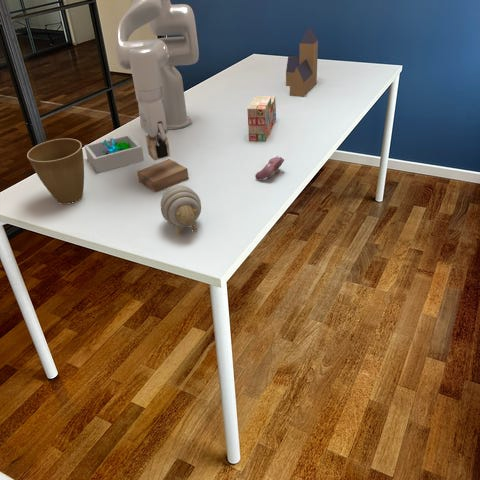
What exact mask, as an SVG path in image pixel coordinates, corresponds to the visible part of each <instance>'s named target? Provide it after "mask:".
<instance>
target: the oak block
mask: <svg viewBox="0 0 480 480" xmlns="http://www.w3.org/2000/svg"><path fill="white" fill-rule="evenodd" d="M158 134H160V133H159V132H158V133H157V135H158ZM160 137H161V136H160ZM160 137H158V141H159V139H160ZM166 137H167V139H166V145H167V152H168V156H166V157H163V158H158V157H157V152H156V146H155V145H156V141H155V137H151V136H149V135H148V134H147V135H146V136H145V141H146V146H147V151H148V152H147V153H148V156H150V158H151V159H152V160H153V161H158V160H162V159H166V158H168V157H170V158H171V151H170V143H169V138H168V136H166Z"/></svg>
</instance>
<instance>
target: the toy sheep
mask: <svg viewBox="0 0 480 480" xmlns="http://www.w3.org/2000/svg"><path fill="white" fill-rule="evenodd" d="M201 212H202V202H201V198H200V197H199V195H198V194H197V193H196V192H195V191H194V190H193V189H192V188H190V187H189V186H185V185H184V184H176V185H173V186H171V187H169V188H166V189H165V190H164V192H163V194H162V198H161V200H160V213H161V216H162V218H163V219H164V220H165V221H166V222H167V223H168V224H169V225H171V226H172V227H175V232H176V235H177V236H181V235H182V234H183V233H182V228H188V227H189V228H190V229H191V231H192V230H193V231H192V232H196V231H197V224H196V222H197V220H198V218H199V217H200V215H201ZM195 230H196V231H195ZM181 233H182V234H181ZM180 234H181V235H180Z"/></svg>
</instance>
